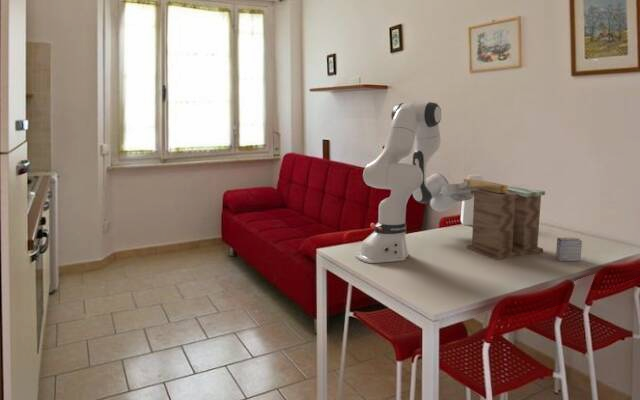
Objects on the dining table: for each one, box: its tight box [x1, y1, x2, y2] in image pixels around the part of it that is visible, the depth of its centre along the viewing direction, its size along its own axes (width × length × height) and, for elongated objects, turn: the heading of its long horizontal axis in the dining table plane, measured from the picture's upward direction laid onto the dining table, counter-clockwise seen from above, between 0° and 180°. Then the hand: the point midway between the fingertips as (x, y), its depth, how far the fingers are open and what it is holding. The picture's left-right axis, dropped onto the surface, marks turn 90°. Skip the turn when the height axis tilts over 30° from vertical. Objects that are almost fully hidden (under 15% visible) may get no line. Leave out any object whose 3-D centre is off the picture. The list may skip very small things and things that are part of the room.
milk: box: [460, 174, 484, 226], centre depth 253 cm, size 12×12×26 cm
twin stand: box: [466, 185, 546, 261], centre depth 202 cm, size 25×18×26 cm
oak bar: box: [463, 178, 508, 193], centre depth 202 cm, size 4×22×3 cm, turn 22°
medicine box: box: [555, 237, 583, 262], centre depth 189 cm, size 8×4×9 cm, turn 84°
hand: (472, 182), depth 208 cm, fingers closed on oak bar, 4 cm apart
